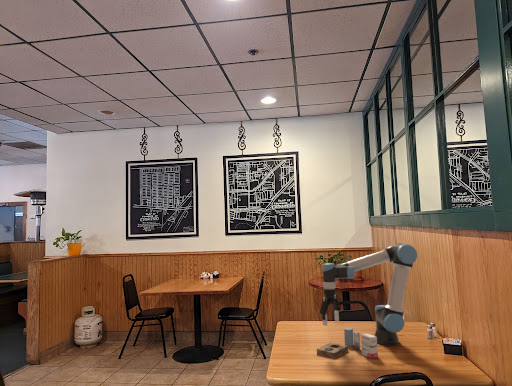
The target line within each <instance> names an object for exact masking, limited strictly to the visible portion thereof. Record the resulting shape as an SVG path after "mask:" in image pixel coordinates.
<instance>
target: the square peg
mask: <svg viewBox="0 0 512 386" xmlns="http://www.w3.org/2000/svg"><path fill="white" fill-rule="evenodd" d="M353 332H354V328H351V327H346V328H344V329H343V333H344V345H345V346H348V347H352V346H354V335H353Z"/></svg>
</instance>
